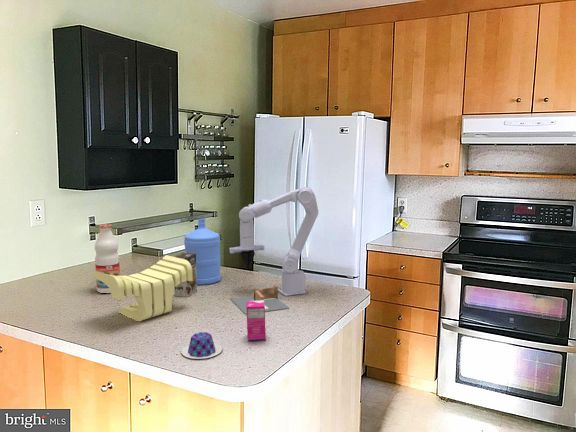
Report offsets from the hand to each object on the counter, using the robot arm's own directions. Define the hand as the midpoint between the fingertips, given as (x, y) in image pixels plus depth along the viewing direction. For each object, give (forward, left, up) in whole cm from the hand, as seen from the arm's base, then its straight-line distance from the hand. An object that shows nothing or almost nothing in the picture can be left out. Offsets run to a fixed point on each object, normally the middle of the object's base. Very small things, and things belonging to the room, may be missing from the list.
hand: (247, 268), depth 197 cm
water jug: (+13, -24, -10) cm, 29 cm away
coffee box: (+24, -8, -10) cm, 27 cm away
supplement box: (+13, +47, -10) cm, 50 cm away
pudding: (+31, +50, -10) cm, 60 cm away
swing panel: (+1, +19, -9) cm, 21 cm away
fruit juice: (+53, -24, -10) cm, 59 cm away
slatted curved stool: (+42, +10, -10) cm, 44 cm away
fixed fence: (-3, +13, -10) cm, 17 cm away
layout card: (+1, +17, -10) cm, 19 cm away
